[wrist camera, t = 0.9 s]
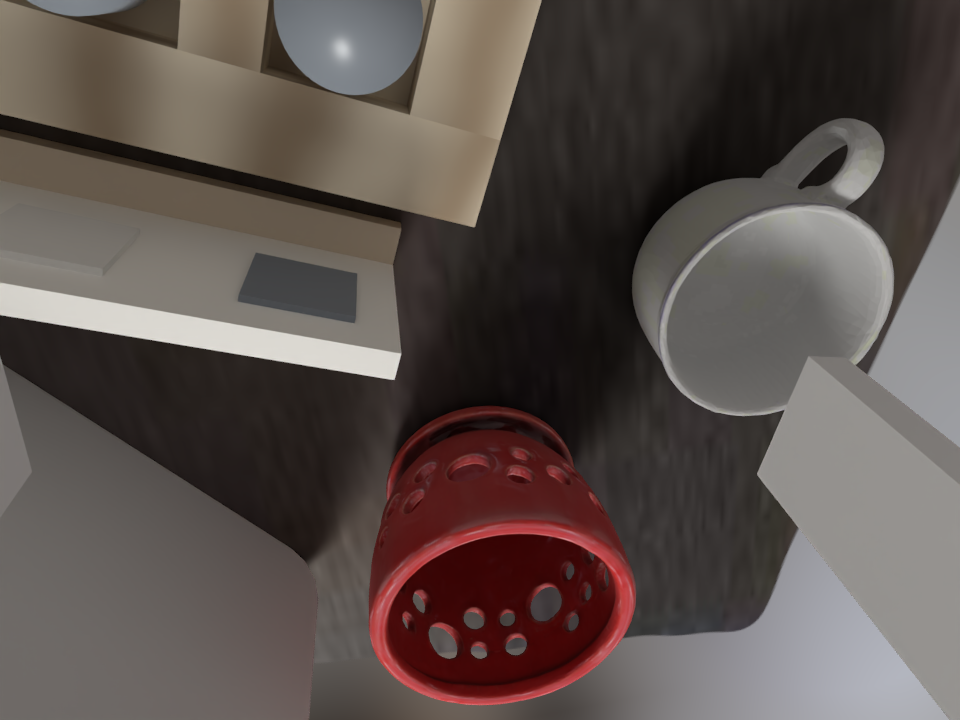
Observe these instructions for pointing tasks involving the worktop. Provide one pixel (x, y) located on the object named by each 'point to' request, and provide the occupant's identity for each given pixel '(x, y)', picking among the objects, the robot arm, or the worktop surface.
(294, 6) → the button
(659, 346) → the teacup
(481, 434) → the plant pot
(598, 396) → the worktop surface
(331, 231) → the pattern card
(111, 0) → the button centre
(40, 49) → the button board
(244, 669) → the rounded white slab
